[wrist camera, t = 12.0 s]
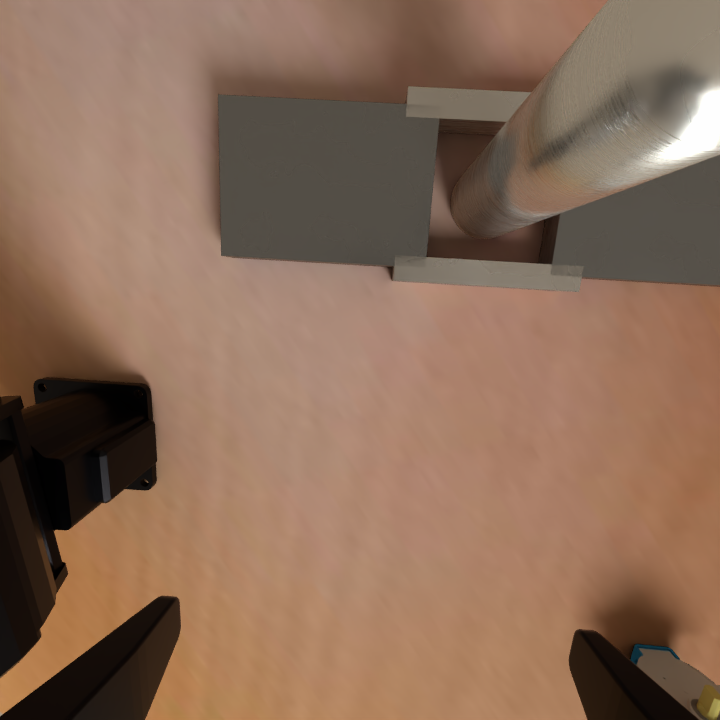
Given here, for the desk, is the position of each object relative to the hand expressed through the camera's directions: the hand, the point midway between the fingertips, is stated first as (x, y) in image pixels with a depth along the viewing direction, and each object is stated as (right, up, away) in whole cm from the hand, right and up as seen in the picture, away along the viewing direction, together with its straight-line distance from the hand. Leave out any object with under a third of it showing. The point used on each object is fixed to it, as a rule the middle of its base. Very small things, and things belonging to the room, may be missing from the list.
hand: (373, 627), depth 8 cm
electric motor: (+19, -13, +16) cm, 28 cm away
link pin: (+6, +14, +10) cm, 18 cm away
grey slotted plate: (+6, +14, +10) cm, 18 cm away
